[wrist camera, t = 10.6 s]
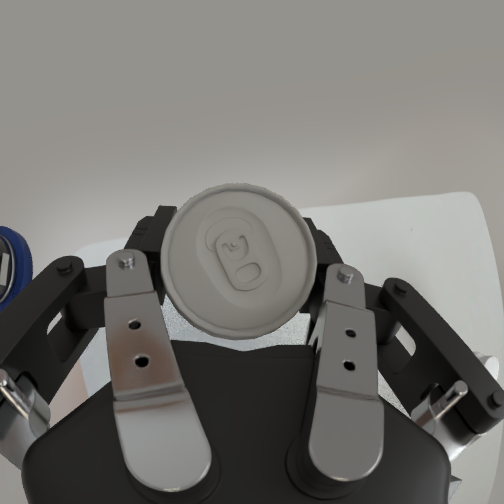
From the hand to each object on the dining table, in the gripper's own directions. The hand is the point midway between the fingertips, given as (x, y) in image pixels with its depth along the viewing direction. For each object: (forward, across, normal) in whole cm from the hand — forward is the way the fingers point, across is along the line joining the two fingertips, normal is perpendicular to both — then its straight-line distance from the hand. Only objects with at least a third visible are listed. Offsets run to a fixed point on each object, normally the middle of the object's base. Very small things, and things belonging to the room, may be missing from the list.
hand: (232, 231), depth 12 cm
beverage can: (+5, 0, +7) cm, 9 cm away
